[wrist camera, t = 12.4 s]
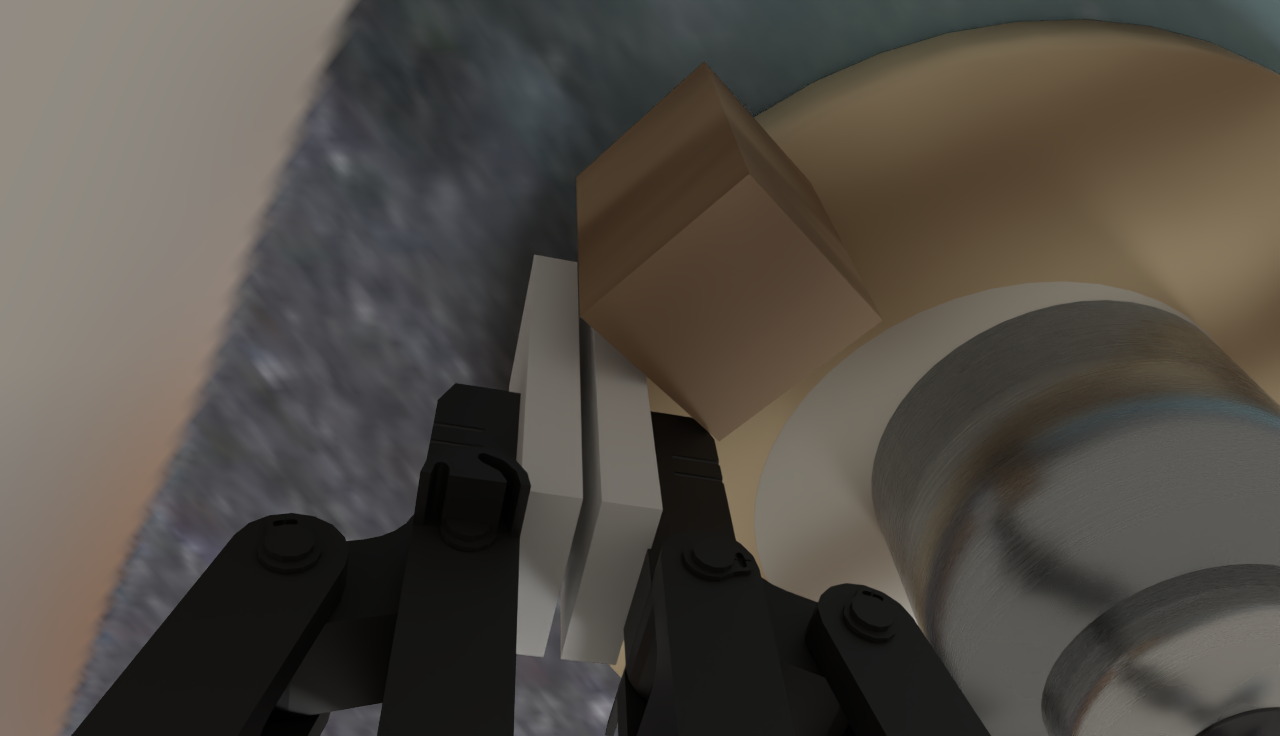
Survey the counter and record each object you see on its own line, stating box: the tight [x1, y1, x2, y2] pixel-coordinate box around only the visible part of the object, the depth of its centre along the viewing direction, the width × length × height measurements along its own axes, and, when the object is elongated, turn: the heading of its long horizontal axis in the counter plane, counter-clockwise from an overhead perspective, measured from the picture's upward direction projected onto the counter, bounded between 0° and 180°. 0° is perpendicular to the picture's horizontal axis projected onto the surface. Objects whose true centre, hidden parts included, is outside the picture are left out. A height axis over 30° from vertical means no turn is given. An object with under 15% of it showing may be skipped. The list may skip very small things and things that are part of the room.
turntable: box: [576, 19, 1280, 678], centre depth 21 cm, size 22×20×7 cm
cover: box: [871, 300, 1280, 736], centre depth 19 cm, size 8×8×8 cm
